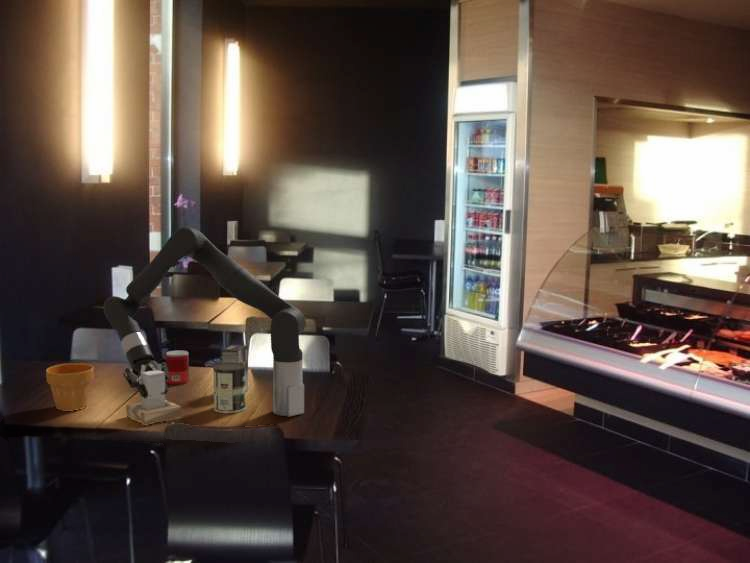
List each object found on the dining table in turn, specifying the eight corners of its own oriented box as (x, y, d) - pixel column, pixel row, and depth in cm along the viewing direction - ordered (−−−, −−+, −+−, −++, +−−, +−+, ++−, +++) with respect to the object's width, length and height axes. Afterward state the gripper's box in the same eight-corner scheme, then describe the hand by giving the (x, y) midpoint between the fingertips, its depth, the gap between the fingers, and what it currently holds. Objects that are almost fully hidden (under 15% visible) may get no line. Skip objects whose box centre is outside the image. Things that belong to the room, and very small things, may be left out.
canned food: (193, 382, 292) (192, 352, 291) (174, 386, 286) (173, 356, 285) (181, 378, 297) (180, 349, 296) (162, 382, 292) (161, 352, 290)
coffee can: (243, 403, 267) (243, 361, 265) (247, 412, 257) (247, 369, 255) (212, 405, 264) (211, 363, 262) (215, 414, 254) (214, 370, 252)
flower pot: (68, 417, 249) (67, 376, 247) (37, 409, 255) (36, 369, 254) (104, 406, 261) (103, 366, 259) (74, 399, 268) (72, 361, 266)
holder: (181, 418, 249) (180, 406, 249) (145, 425, 241) (145, 413, 241) (161, 409, 258) (161, 398, 258) (126, 416, 250) (126, 404, 249)
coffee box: (231, 388, 284) (231, 344, 282) (248, 390, 283) (248, 345, 281) (221, 395, 275) (220, 349, 273) (239, 397, 274) (238, 350, 272)
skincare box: (148, 413, 246) (147, 375, 244) (140, 410, 249) (140, 372, 247) (166, 410, 250) (165, 371, 248) (158, 406, 253) (158, 369, 252)
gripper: (119, 346, 247) (138, 392, 240) (161, 340, 257) (181, 384, 250) (111, 360, 252) (130, 405, 245) (154, 353, 262) (173, 397, 255)
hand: (156, 394), depth 248 cm, fingers closed on skincare box, 6 cm apart
